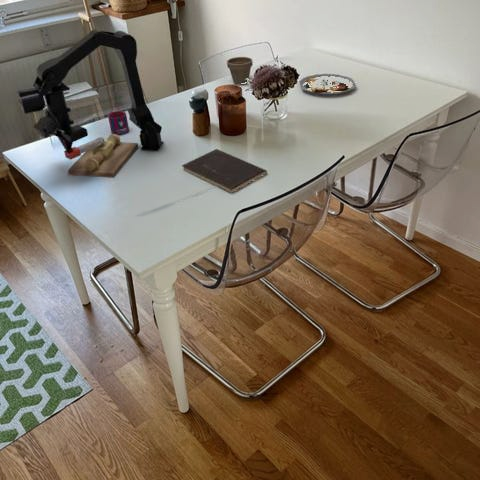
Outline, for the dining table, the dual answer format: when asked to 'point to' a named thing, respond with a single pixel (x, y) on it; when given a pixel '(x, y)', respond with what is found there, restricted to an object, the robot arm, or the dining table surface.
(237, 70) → the flower pot
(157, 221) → the dining table surface
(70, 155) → the lever
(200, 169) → the hardcover book
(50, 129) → the robot arm
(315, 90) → the food plate
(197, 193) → the butter knife
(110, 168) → the valve board
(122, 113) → the mug
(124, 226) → the dining table surface
